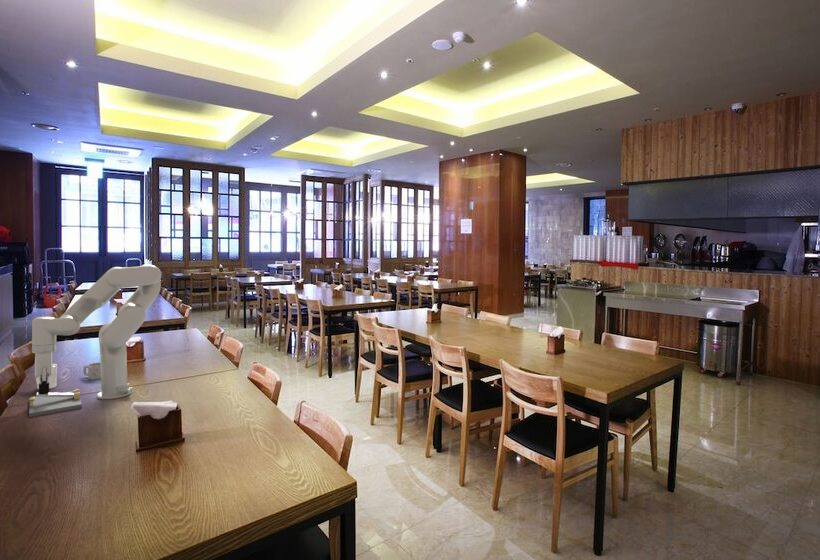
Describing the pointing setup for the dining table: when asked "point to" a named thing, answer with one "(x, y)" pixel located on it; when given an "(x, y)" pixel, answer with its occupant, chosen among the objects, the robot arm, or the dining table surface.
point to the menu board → (54, 404)
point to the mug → (93, 371)
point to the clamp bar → (55, 395)
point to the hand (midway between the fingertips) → (43, 393)
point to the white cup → (52, 378)
